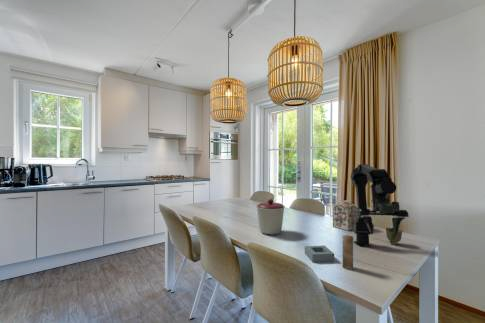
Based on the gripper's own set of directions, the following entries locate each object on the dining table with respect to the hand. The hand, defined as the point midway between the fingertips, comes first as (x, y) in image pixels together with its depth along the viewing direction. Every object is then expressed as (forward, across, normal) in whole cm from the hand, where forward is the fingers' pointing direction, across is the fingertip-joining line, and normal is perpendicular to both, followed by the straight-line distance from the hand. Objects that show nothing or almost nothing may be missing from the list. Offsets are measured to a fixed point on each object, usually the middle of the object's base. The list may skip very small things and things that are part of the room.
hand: (383, 234), depth 97 cm
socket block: (+12, -26, +9) cm, 30 cm away
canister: (+3, -50, +42) cm, 65 cm away
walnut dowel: (+14, -15, +1) cm, 21 cm away
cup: (+6, +17, +33) cm, 37 cm away
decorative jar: (-2, -1, +60) cm, 60 cm away
